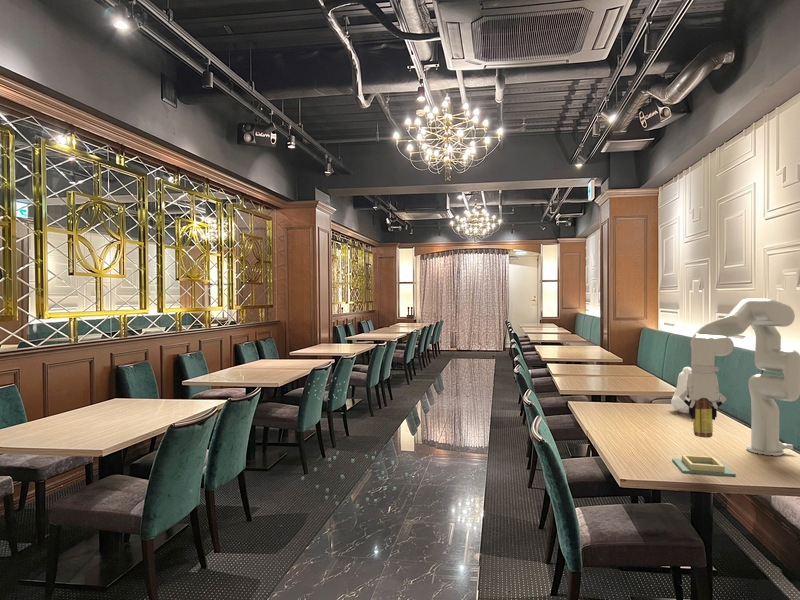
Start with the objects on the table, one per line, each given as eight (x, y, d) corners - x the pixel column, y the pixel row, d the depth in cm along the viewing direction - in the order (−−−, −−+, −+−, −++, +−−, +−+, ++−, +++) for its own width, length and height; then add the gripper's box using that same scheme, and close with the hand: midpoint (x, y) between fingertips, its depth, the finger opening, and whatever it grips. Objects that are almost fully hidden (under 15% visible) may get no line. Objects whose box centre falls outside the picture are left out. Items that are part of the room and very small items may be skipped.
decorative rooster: (668, 408, 308) (668, 364, 308) (699, 410, 304) (699, 365, 304) (680, 418, 284) (680, 370, 284) (713, 419, 280) (713, 371, 280)
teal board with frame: (721, 463, 206) (721, 456, 206) (735, 476, 192) (735, 468, 192) (672, 460, 210) (672, 453, 210) (682, 472, 196) (682, 464, 196)
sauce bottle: (714, 436, 201) (715, 382, 201) (710, 439, 196) (711, 384, 196) (694, 433, 205) (695, 380, 205) (690, 436, 201) (691, 382, 201)
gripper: (725, 369, 202) (724, 417, 202) (674, 367, 206) (674, 415, 206) (732, 372, 195) (732, 422, 195) (680, 370, 199) (679, 419, 199)
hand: (702, 418), depth 201 cm, fingers closed on sauce bottle, 6 cm apart
